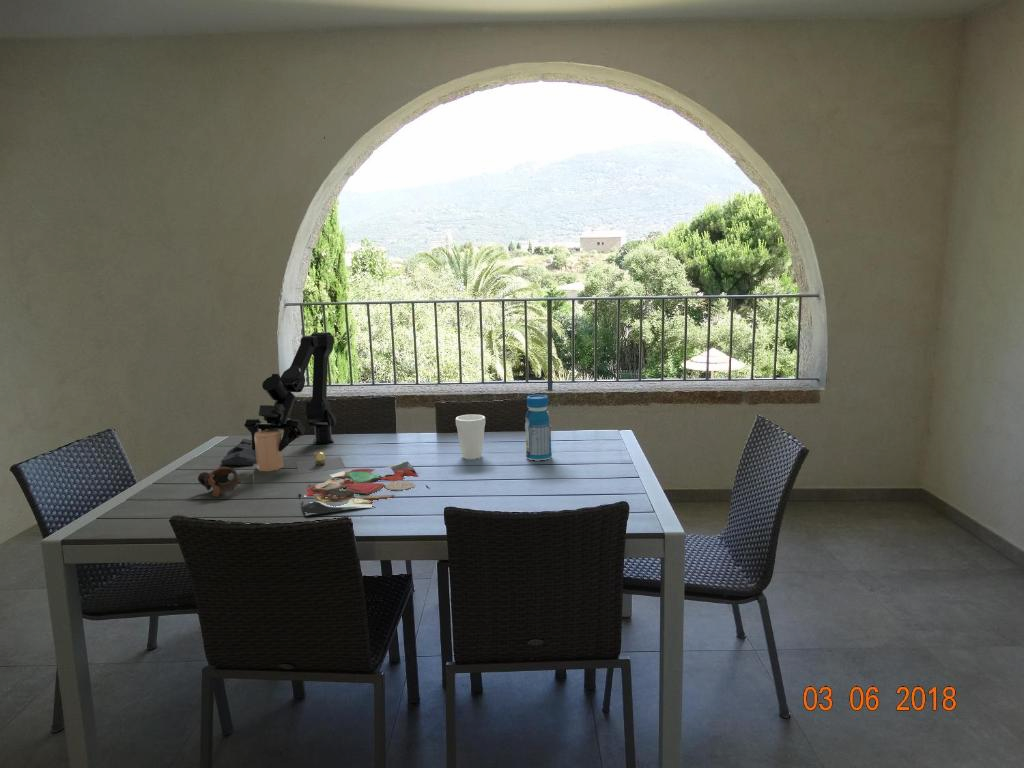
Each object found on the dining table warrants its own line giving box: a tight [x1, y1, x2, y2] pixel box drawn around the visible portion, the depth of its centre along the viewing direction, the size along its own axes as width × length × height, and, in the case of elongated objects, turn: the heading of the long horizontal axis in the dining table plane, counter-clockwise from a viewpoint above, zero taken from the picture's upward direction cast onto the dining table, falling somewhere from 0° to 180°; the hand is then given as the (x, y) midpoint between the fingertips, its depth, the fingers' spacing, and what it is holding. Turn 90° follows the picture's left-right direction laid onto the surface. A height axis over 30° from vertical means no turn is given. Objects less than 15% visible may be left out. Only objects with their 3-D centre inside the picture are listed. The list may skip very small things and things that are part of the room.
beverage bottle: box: [524, 394, 553, 462], centre depth 233 cm, size 8×8×20 cm
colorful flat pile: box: [301, 461, 431, 515], centre depth 209 cm, size 35×35×2 cm
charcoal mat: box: [296, 456, 346, 474], centre depth 233 cm, size 14×14×1 cm
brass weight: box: [314, 451, 326, 466], centre depth 233 cm, size 3×3×4 cm
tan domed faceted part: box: [254, 429, 284, 472], centre depth 231 cm, size 7×7×12 cm
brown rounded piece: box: [197, 466, 241, 498], centre depth 210 cm, size 12×10×8 cm
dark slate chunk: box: [220, 438, 257, 467], centre depth 246 cm, size 15×22×5 cm
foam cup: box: [455, 414, 486, 460], centre depth 238 cm, size 10×9×13 cm
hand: (266, 450), depth 229 cm, fingers open, 9 cm apart
